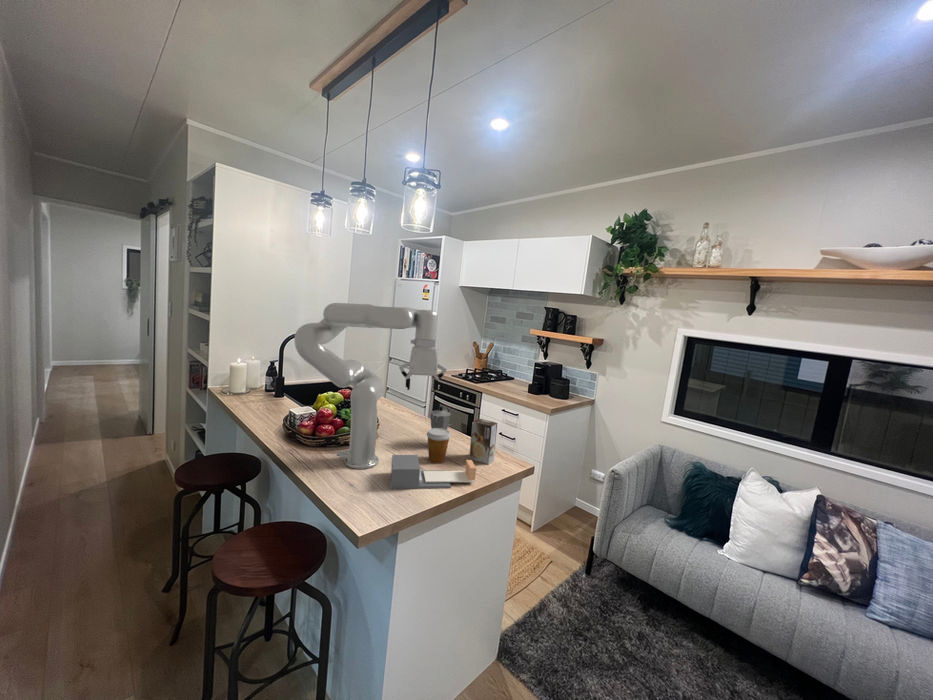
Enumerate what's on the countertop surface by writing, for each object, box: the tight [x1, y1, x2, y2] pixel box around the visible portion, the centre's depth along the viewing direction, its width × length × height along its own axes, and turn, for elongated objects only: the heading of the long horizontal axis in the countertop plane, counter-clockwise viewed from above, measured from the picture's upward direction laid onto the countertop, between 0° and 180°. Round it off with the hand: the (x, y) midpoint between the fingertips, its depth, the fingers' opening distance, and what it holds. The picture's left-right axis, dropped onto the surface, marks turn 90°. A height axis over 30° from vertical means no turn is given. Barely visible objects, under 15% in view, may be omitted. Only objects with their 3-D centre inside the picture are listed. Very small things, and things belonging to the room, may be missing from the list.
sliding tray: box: [424, 459, 477, 483], centre depth 133 cm, size 18×8×5 cm, turn 102°
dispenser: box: [390, 454, 452, 490], centre depth 131 cm, size 20×12×7 cm, turn 102°
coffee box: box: [468, 418, 498, 465], centre depth 154 cm, size 9×6×16 cm
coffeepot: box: [429, 406, 451, 448], centre depth 165 cm, size 15×9×18 cm, turn 158°
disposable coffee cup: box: [426, 428, 452, 464], centre depth 149 cm, size 10×10×12 cm
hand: (421, 389), depth 137 cm, fingers open, 9 cm apart
